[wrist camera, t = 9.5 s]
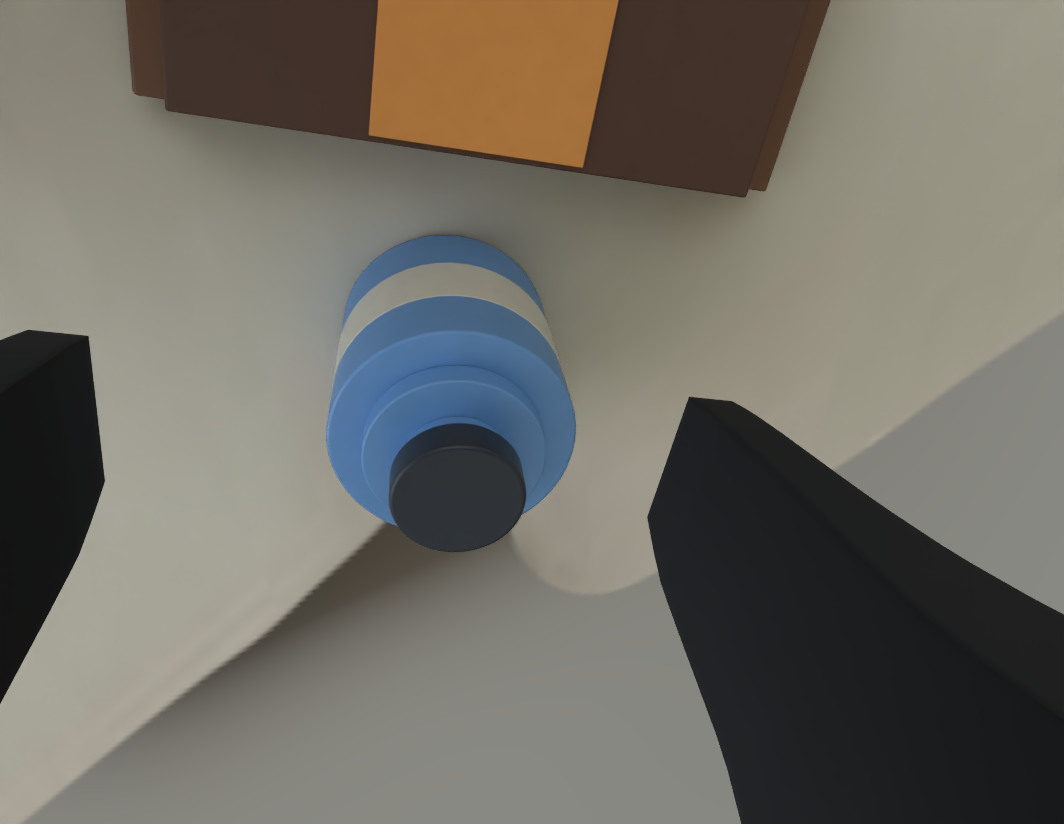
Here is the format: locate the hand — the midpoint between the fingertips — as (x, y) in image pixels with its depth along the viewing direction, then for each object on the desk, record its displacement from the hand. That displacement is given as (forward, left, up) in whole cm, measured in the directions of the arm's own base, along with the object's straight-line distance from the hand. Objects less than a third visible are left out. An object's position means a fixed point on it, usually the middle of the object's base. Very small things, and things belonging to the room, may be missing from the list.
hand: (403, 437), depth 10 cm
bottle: (-2, -3, -10) cm, 10 cm away
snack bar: (+4, +1, -10) cm, 11 cm away
